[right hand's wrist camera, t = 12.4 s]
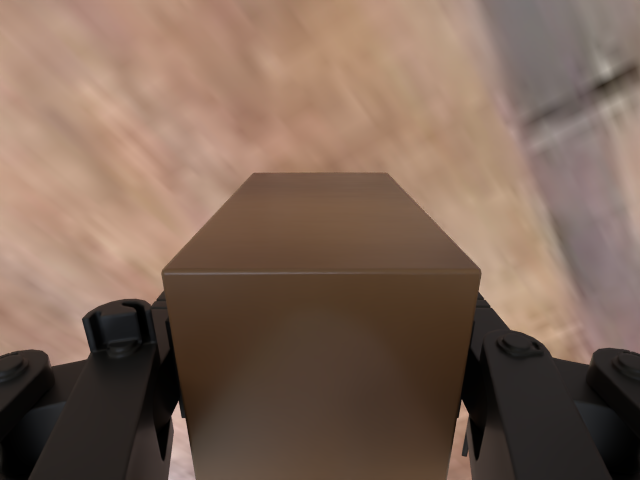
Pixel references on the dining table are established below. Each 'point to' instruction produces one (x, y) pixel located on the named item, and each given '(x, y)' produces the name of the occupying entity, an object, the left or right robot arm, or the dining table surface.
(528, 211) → the dining table surface
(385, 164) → the dining table surface
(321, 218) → the bar
